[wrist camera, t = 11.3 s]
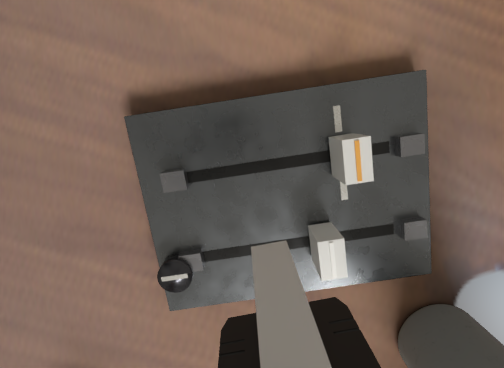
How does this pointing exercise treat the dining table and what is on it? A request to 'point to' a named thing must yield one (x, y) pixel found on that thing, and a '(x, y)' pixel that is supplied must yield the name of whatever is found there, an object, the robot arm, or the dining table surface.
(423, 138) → the console board
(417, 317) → the water bottle
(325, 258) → the fader
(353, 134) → the block
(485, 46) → the dining table surface
